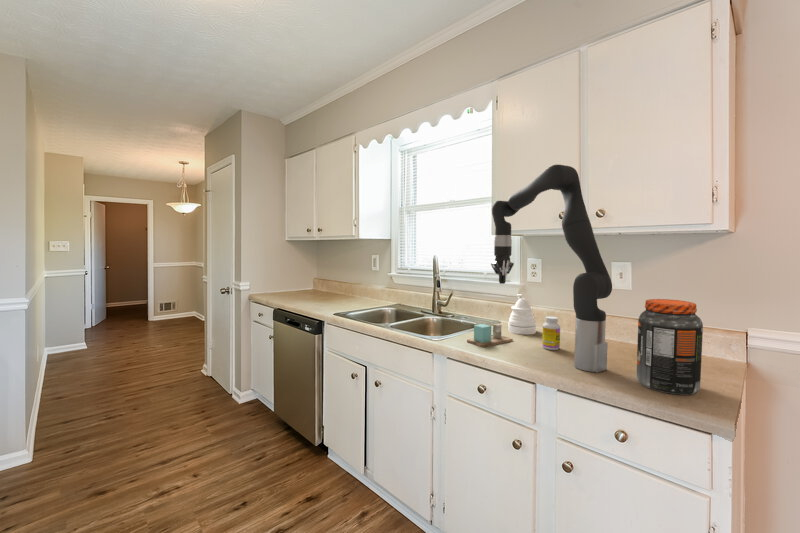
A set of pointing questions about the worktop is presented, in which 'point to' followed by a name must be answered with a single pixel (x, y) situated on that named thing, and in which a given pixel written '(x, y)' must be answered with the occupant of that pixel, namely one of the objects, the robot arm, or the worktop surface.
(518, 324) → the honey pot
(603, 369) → the robot arm
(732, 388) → the worktop surface
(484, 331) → the teal block
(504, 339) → the stand
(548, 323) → the supplement bottle
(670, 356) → the supplement tub
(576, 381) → the worktop surface
